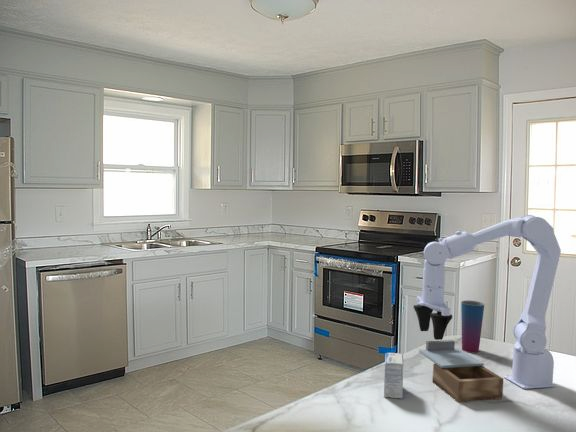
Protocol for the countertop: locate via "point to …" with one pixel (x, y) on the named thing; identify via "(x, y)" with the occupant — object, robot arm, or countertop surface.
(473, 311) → the cup
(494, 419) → the countertop surface
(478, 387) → the walnut box
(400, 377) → the medicine box
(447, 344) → the lid
